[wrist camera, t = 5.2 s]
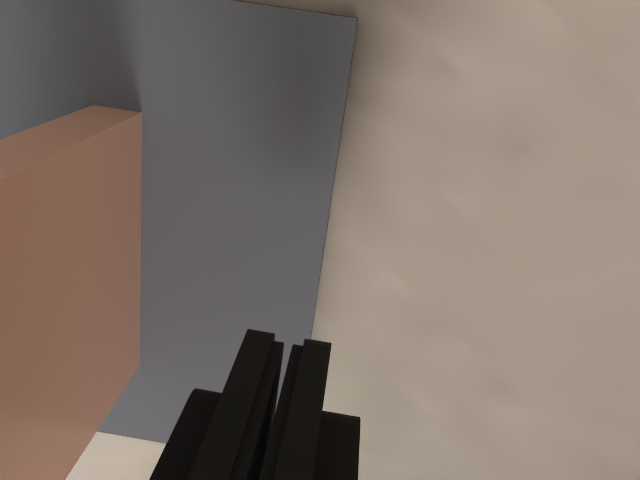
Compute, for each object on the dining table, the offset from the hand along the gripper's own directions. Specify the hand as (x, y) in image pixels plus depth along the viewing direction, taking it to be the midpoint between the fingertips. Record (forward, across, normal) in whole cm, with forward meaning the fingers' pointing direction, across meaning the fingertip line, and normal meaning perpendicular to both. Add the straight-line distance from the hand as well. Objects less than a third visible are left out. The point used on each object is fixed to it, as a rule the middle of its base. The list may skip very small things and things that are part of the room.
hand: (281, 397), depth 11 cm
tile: (+5, +6, 0) cm, 8 cm away
